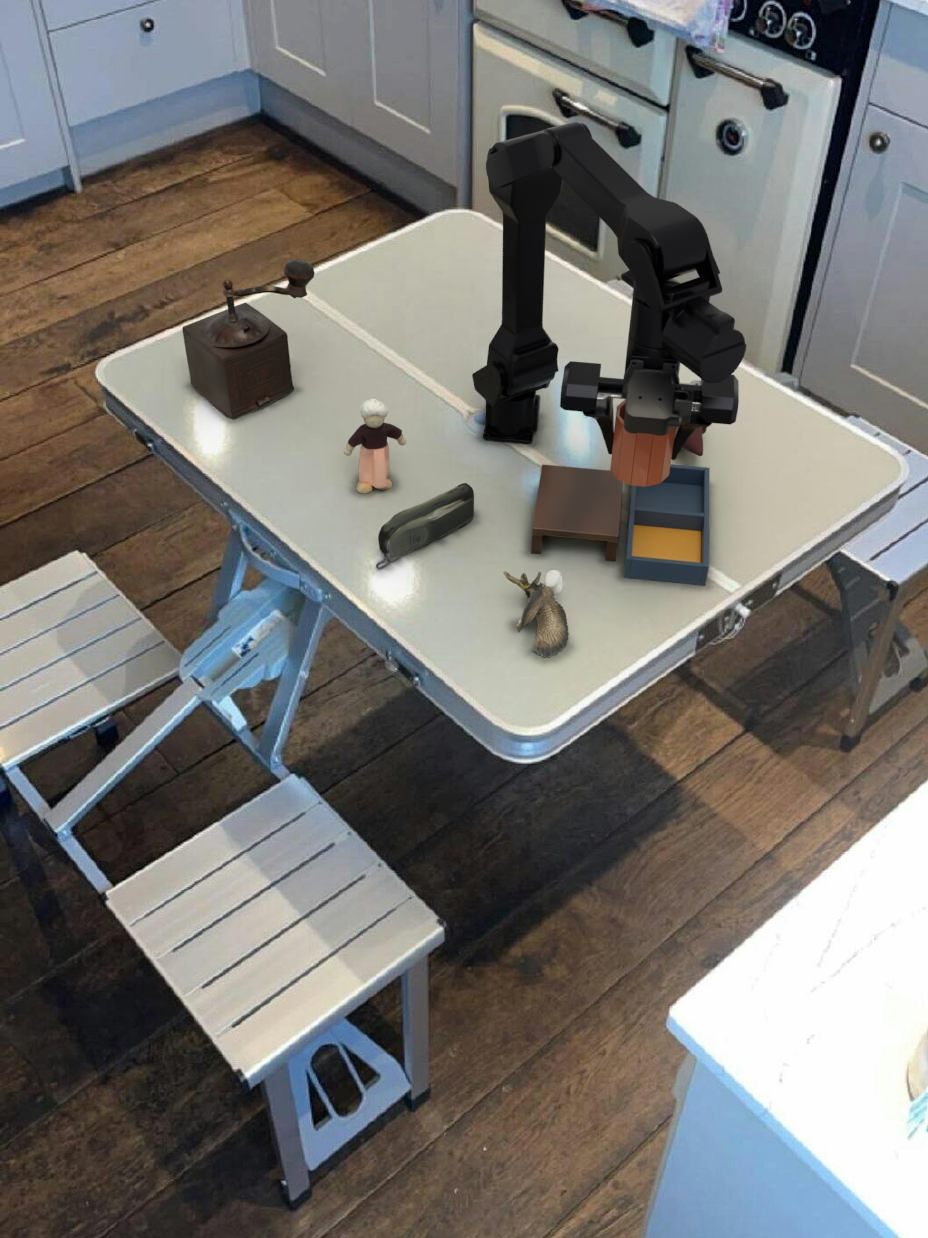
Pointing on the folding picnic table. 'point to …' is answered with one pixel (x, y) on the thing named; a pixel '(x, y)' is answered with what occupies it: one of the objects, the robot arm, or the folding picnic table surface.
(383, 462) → the grandmother figurine
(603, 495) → the brown low table
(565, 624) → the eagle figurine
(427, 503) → the dark green rounded bar
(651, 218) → the robot arm
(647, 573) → the blue divided tray
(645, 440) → the cup
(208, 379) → the coffee grinder
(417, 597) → the folding picnic table surface
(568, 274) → the folding picnic table surface
